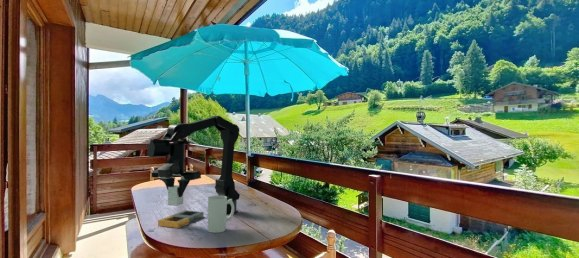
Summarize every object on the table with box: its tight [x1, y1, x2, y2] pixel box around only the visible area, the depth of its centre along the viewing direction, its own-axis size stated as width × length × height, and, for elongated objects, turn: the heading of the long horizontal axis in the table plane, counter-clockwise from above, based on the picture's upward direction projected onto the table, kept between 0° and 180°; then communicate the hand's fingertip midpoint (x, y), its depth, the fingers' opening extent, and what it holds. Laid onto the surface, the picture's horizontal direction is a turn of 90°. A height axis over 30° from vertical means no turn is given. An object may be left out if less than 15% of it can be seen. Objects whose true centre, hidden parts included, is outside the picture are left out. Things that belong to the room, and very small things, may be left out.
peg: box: [167, 184, 184, 207], centre depth 121 cm, size 4×4×7 cm
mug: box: [207, 195, 235, 234], centre depth 115 cm, size 10×7×12 cm, turn 123°
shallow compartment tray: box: [157, 209, 205, 229], centre depth 125 cm, size 9×17×2 cm, turn 164°
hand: (175, 196), depth 121 cm, fingers closed on peg, 4 cm apart
